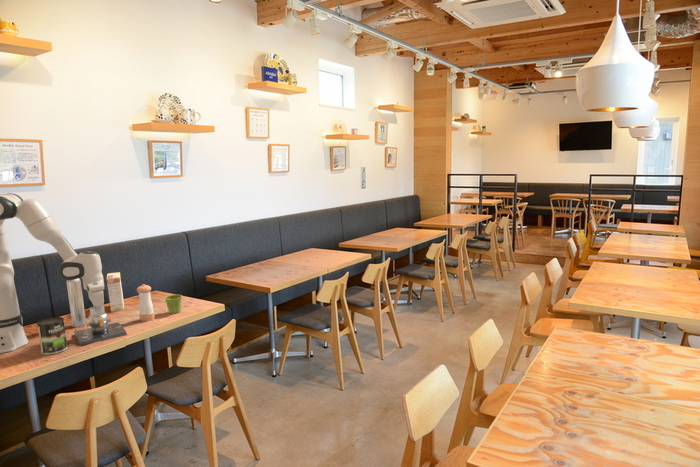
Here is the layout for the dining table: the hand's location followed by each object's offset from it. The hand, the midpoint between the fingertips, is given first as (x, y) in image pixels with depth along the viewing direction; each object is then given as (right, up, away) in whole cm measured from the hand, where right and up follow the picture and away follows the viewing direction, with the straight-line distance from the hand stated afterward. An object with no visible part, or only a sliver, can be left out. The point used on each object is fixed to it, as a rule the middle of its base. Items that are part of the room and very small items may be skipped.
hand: (97, 311), depth 233 cm
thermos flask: (-19, -10, +17) cm, 27 cm away
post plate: (0, -12, +2) cm, 12 cm away
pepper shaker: (+15, -8, +22) cm, 28 cm away
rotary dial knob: (+2, -7, -1) cm, 7 cm away
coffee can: (-11, -15, -16) cm, 25 cm away
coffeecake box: (-13, -6, +46) cm, 48 cm away
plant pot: (+26, -6, +33) cm, 42 cm away
